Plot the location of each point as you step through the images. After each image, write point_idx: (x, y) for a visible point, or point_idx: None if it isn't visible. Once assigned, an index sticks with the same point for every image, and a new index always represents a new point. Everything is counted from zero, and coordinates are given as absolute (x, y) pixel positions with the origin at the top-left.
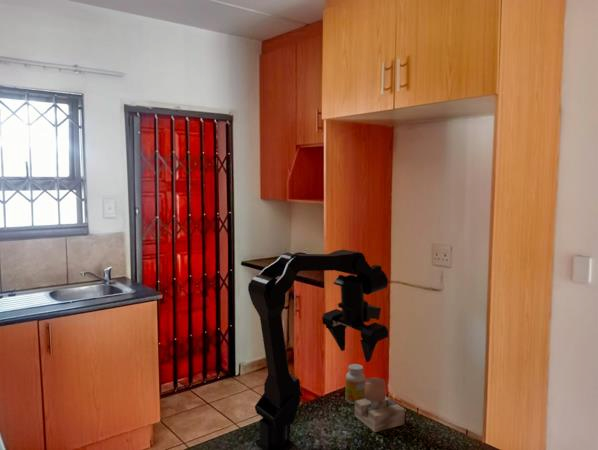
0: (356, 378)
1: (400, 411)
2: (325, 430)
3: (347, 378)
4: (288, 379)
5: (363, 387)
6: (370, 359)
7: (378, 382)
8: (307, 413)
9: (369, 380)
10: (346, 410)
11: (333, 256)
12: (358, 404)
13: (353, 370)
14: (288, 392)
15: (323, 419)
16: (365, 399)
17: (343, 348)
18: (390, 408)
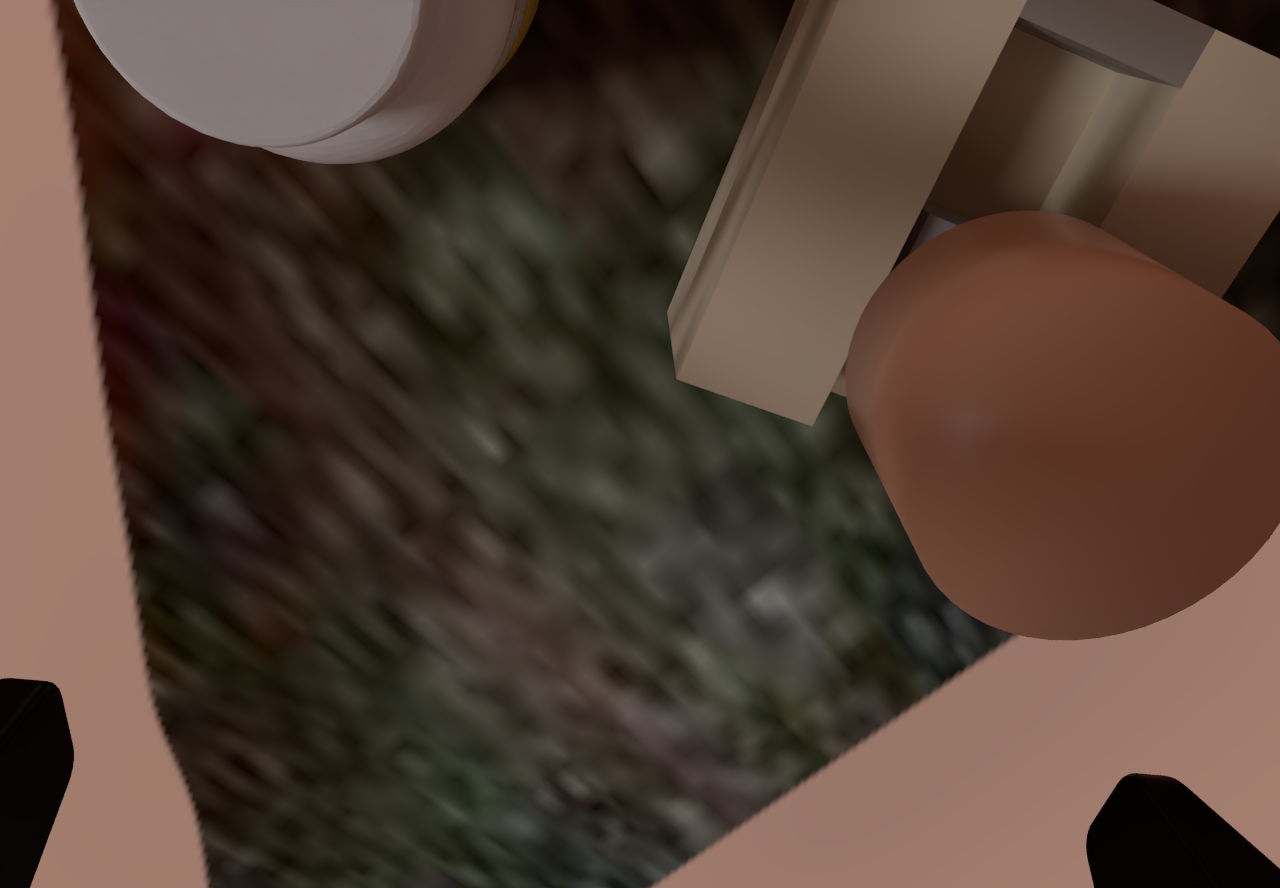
0: (440, 105)
1: None
2: (633, 685)
3: (278, 153)
4: None
5: None
6: (1213, 818)
7: (1172, 467)
8: (294, 590)
9: (990, 510)
10: (521, 272)
11: None
12: (754, 401)
13: (328, 133)
14: None
15: (486, 571)
16: (760, 243)
17: (30, 770)
18: (1167, 226)
